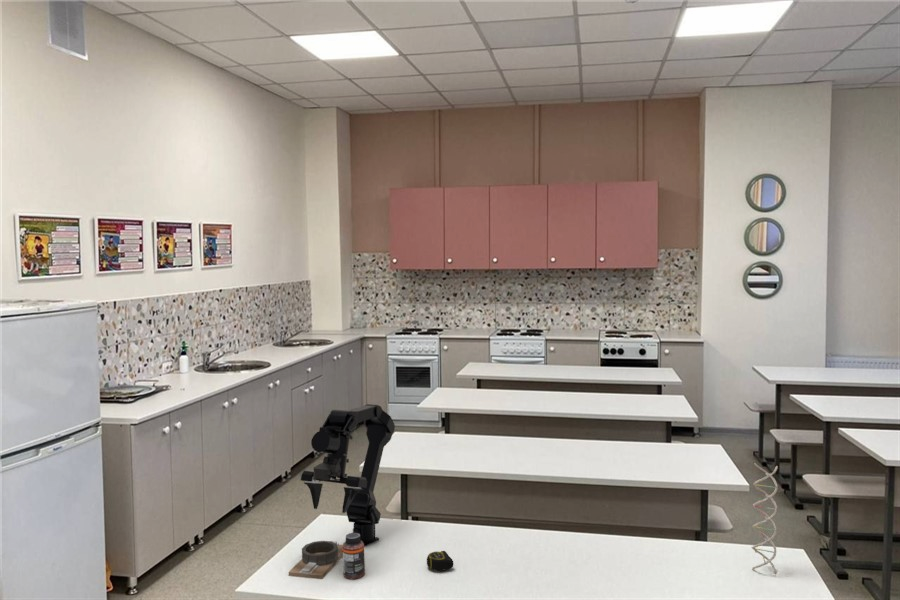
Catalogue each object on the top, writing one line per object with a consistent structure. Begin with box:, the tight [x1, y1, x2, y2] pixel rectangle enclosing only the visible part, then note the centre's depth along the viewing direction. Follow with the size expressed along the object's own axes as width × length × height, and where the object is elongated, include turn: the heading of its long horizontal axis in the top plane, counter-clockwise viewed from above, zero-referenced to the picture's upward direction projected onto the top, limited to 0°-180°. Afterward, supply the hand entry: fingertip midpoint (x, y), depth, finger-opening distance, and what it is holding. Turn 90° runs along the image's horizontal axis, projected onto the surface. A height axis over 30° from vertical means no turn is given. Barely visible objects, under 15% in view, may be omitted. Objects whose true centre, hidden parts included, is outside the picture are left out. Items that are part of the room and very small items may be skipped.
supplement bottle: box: [342, 532, 366, 580], centre depth 194 cm, size 6×6×11 cm
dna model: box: [751, 462, 779, 574], centre depth 192 cm, size 7×6×30 cm
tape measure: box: [426, 550, 454, 572], centre depth 198 cm, size 7×7×4 cm
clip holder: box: [288, 540, 343, 580], centre depth 203 cm, size 20×10×4 cm, turn 167°
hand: (329, 510), depth 198 cm, fingers open, 9 cm apart
